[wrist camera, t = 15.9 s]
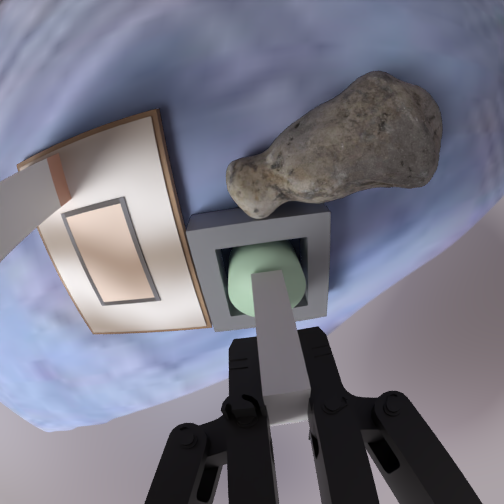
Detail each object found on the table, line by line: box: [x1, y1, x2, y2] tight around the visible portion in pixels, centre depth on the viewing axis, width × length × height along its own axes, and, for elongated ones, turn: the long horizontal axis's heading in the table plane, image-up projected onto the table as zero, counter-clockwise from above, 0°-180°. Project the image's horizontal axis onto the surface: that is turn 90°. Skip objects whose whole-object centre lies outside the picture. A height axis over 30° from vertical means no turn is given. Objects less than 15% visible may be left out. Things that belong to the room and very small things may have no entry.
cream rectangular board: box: [17, 109, 212, 334], centre depth 15 cm, size 14×10×1 cm
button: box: [228, 240, 306, 317], centre depth 15 cm, size 4×4×3 cm
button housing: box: [186, 201, 330, 332], centre depth 15 cm, size 7×7×2 cm
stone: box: [226, 71, 442, 219], centre depth 11 cm, size 10×5×8 cm
